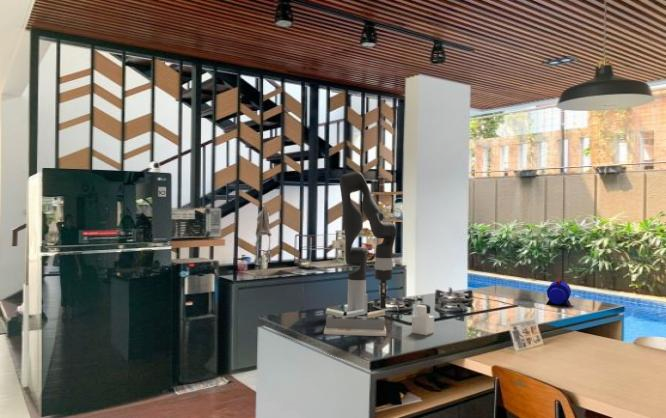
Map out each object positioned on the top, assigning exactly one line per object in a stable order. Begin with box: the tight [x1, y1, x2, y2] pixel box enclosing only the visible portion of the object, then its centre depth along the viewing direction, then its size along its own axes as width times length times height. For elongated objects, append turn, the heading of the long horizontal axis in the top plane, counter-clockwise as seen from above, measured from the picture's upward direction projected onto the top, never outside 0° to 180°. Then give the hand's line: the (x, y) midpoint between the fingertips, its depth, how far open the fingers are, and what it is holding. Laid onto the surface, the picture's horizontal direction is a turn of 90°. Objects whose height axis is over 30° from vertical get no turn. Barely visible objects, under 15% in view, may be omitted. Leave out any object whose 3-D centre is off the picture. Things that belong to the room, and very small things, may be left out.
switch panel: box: [323, 314, 387, 337], centre depth 221 cm, size 26×13×6 cm, turn 86°
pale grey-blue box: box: [345, 309, 365, 318], centre depth 223 cm, size 8×5×2 cm, turn 87°
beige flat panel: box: [366, 309, 386, 319], centre depth 222 cm, size 8×5×2 cm, turn 87°
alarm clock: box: [546, 277, 572, 308], centre depth 296 cm, size 12×12×15 cm
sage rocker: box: [325, 307, 345, 317], centre depth 223 cm, size 8×5×2 cm, turn 86°
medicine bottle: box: [411, 303, 435, 336], centre depth 221 cm, size 7×7×12 cm
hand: (382, 308), depth 222 cm, fingers closed
